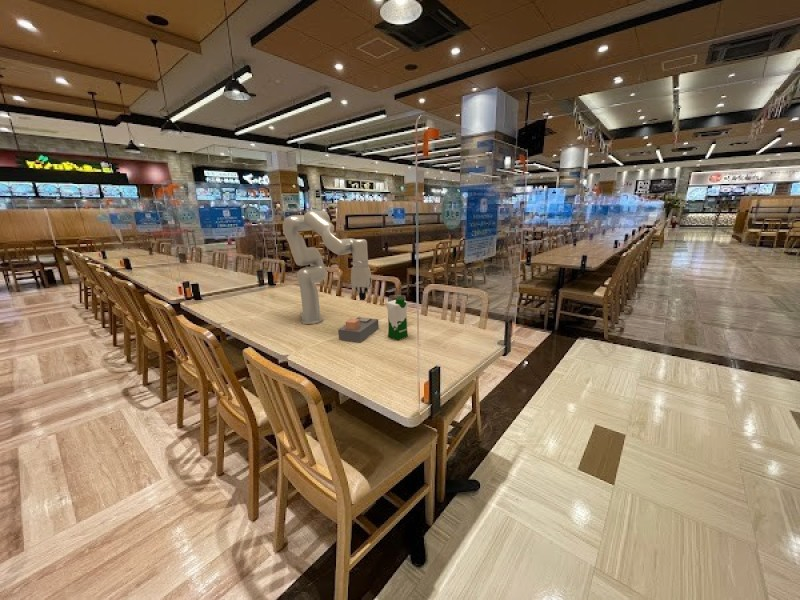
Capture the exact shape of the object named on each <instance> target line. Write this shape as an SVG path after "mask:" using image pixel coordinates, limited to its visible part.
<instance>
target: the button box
mask: <svg viewBox="0 0 800 600" xmlns="http://www.w3.org/2000/svg"><path fill="white" fill-rule="evenodd" d="M361 318H363V317H362V316H361V317H360V316H358V317H357V318H355V319H361ZM379 325H380V324H379V319H378V318H371V320H370V321H369V322H367V323H364V322H360V328H358V329H357V330H355V331H354V330H346V324H345V325H343V326H341V327H340V328H338V329H337V330H338V331H337V332H338V341H343V340H345V341H344V342H350V341H352V343H357V342H358V343H359V344H361V343H362V342H365V340H366V339H368V338H369V337H371V336H372V335H373V334H375V332H377V331H378V330H379V329H380V328H379Z"/></svg>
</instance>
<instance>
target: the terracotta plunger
mask: <svg viewBox="0 0 800 600" xmlns="http://www.w3.org/2000/svg"><path fill="white" fill-rule="evenodd" d="M344 323H345V325H346V330H354V331H355V330H357V329H358V328H360V320H359V319H356V318H349V319H346V321H345V322H344Z"/></svg>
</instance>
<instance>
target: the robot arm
mask: <svg viewBox="0 0 800 600" xmlns="http://www.w3.org/2000/svg"><path fill="white" fill-rule="evenodd" d="M282 230H283V231H282V232H283V235H284V237H285V239H286V240H287V242H288V245H289V249H290V251H291V255H292V257H293V260H294V262H295V264H296V265H297V266H299V267H303V266H306V267H303V268H301V269H299V270H298V271H297V273H296V279H297V281H298V282H297V283H298V286H299V290H300V297H301V298H300V300H301V305H302V307H301V309H302V312H300V313H299V315H298V317H299V318H301V320H300V322H301V324H303V325H317V324H320V323H322V322H323V321H324V317H323V316H321V308H320V300H319V299H320V298H319V297H320V296H319V291H318V288H317V286H316V285H315V283H319V282H322V281H324V280H325V279H326V277H327V270H326V266H325V264H324V261H323V258H322V255H321V253H320V251H319V250H318V249H317V248H316V247H313V246H310V247H308V246H307V245H306V241H305V239H304V237H303V236H302V235H301V234H300V233H299V232H306V231H307V232H308V231H314V232H316V233H317V234H318V235H319V236H320V237H322V238H321V239H322V242H323V244H324V246H325V247H326V248H327V249H328V250H330V251H331V252H332V253H334V254H336V255H338V256H343V255H349V254H352V261H351V262H350V265H352V267H351V268H350V270H351V271H350V285H351V287H352V289H354V290H356V291H357V293H358V297H359V301H365V300H366V298H367V294H366V293H367V291H368V290H372V289H373V287H372V285H373V279H372V273H371V267H370V266H369V254H368V241H367V240H366V239H364V238H360V239H359V238H357V239H355V238H340V239H339V238H338V237H336V236H335V235H334V231H335V226H334V224H333V223H332V222H331V219H330V215H329V214H328V212H326V211H325V210H308V211H306V212H305V214H304V215H303V214H302V215H301V214H300V215H299V214H297V215H296V214H295V215H290V216H287V217H286V218H285V219H284V220H283V222H282ZM309 265H310V266H309Z"/></svg>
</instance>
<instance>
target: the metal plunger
mask: <svg viewBox="0 0 800 600" xmlns="http://www.w3.org/2000/svg"><path fill="white" fill-rule="evenodd" d="M371 319H372V317H362V318H361V319H359V320H360V322H364V323H367V322H369V321H370V320H371Z"/></svg>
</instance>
